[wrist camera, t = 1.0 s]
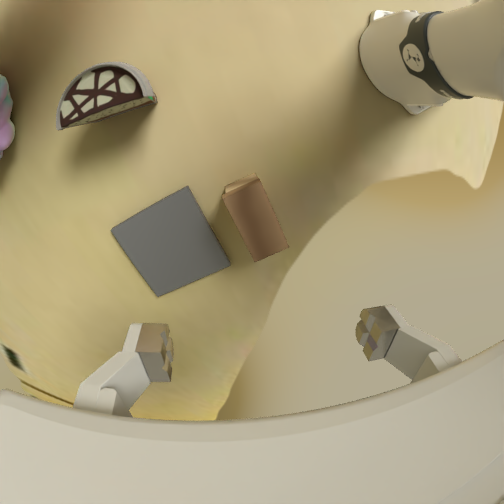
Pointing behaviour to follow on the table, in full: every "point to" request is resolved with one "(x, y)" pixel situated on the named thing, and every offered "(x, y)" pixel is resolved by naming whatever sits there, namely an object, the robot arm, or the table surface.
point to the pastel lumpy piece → (5, 116)
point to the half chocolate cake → (103, 94)
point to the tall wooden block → (254, 217)
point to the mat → (171, 243)
